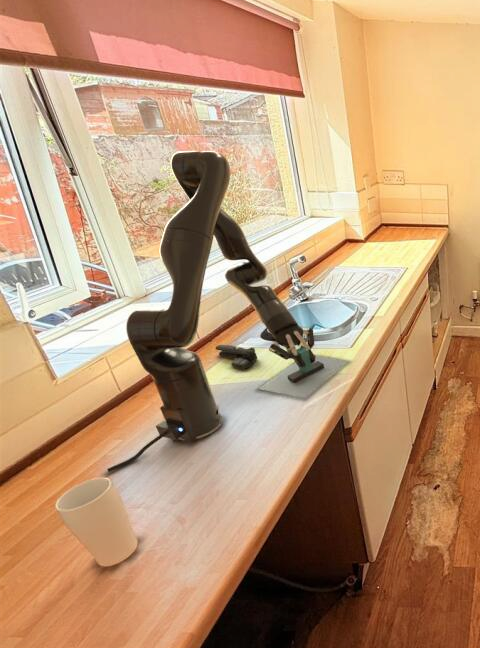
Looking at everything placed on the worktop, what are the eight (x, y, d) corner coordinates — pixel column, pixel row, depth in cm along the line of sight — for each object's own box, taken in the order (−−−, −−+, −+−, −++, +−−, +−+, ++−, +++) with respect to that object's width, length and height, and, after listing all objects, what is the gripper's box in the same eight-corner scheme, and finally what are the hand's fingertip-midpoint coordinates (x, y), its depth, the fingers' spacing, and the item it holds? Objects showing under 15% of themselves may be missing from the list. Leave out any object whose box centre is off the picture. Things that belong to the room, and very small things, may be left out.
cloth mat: (305, 399, 112) (305, 397, 112) (258, 389, 115) (258, 388, 115) (348, 361, 129) (348, 360, 129) (306, 354, 133) (306, 353, 133)
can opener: (265, 362, 129) (261, 347, 126) (243, 373, 123) (239, 357, 120) (231, 349, 136) (226, 334, 133) (209, 358, 130) (204, 343, 128)
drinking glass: (153, 535, 74) (123, 476, 68) (122, 572, 68) (85, 511, 62) (116, 535, 74) (82, 476, 68) (81, 573, 68) (40, 511, 62)
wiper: (294, 383, 118) (288, 359, 114) (288, 380, 119) (282, 355, 115) (324, 367, 125) (319, 344, 122) (318, 364, 127) (313, 341, 123)
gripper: (255, 320, 112) (289, 370, 112) (301, 303, 123) (333, 349, 122) (250, 332, 117) (283, 380, 116) (295, 315, 128) (325, 359, 127)
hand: (308, 364), depth 119 cm, fingers closed on wiper, 2 cm apart
